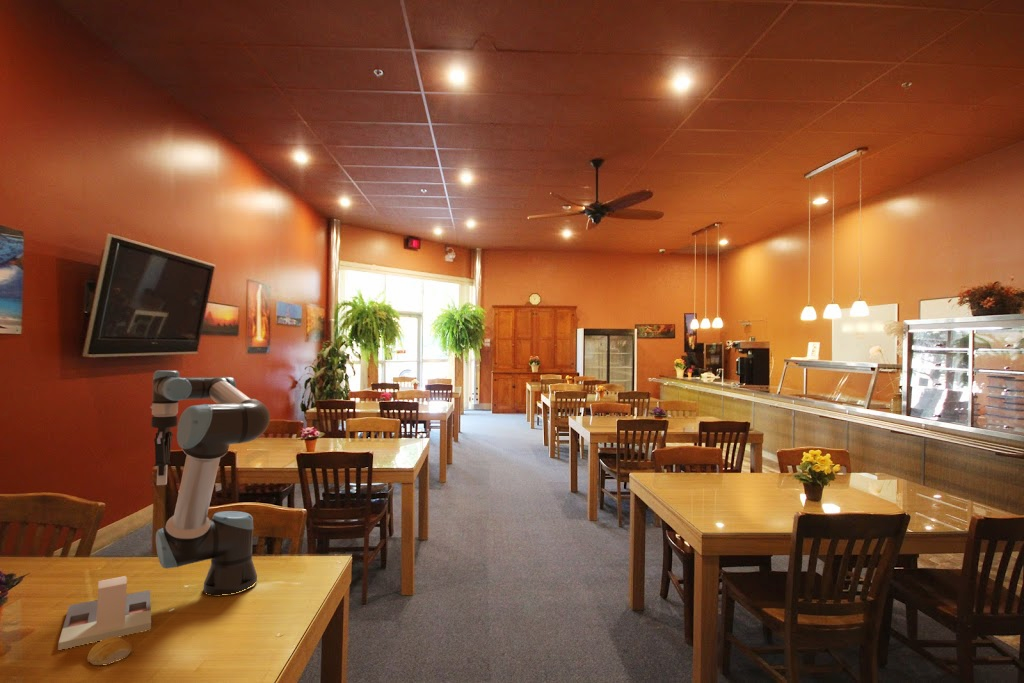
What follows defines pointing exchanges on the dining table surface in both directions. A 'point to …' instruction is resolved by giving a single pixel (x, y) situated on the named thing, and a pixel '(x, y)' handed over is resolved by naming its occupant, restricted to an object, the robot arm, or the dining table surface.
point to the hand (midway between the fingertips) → (161, 484)
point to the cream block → (111, 603)
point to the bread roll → (109, 651)
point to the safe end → (88, 631)
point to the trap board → (88, 610)
